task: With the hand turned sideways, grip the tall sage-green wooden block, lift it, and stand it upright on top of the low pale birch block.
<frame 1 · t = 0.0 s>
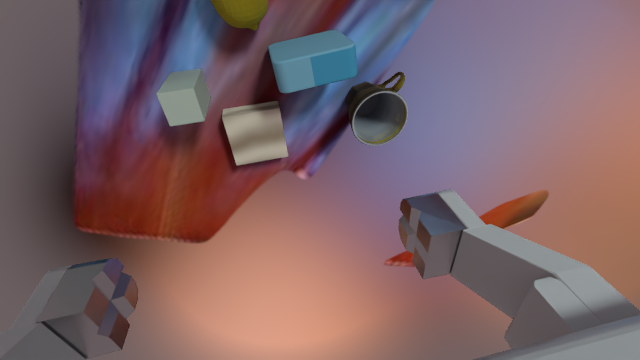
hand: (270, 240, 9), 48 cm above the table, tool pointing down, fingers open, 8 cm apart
blue rounded box: (304, 50, 52), on the table
sage block: (191, 85, 51), on the table
ceramic cup: (365, 91, 58), on the table
birch block: (256, 128, 59), on the table
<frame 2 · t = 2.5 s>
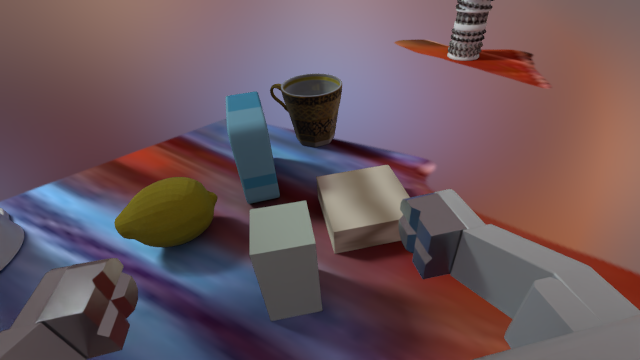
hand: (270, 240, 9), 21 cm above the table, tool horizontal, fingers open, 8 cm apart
blue rounded box: (260, 181, 46), on the table
lemon: (183, 236, 38), on the table
sage block: (294, 292, 31), on the table
ceramic cup: (308, 137, 56), on the table
birch block: (363, 217, 39), on the table
decorative candle: (462, 56, 86), on the table
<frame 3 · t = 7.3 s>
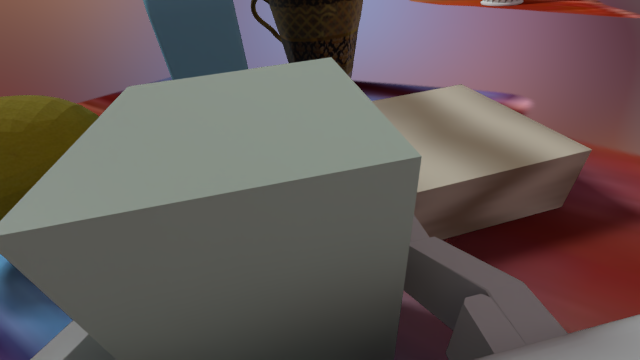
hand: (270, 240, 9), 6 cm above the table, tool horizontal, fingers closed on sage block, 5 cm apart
blue rounded box: (235, 135, 27), on the table
lemon: (70, 227, 19), on the table
sage block: (298, 357, 11), on the table, touching gripper
ceramic cup: (311, 82, 37), on the table
birch block: (429, 180, 20), on the table
decorative candle: (501, 3, 68), on the table
when the fingers open (11 cm above the table, at t = 12.1 s): sage block drops 2 cm, resting on birch block.
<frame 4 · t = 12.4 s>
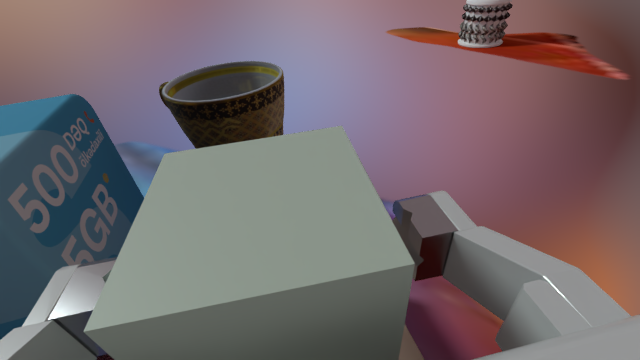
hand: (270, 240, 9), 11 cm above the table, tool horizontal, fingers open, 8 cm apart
blue rounded box: (113, 280, 22), on the table
ceramic cup: (238, 174, 32), on the table
decorative candle: (479, 43, 63), on the table
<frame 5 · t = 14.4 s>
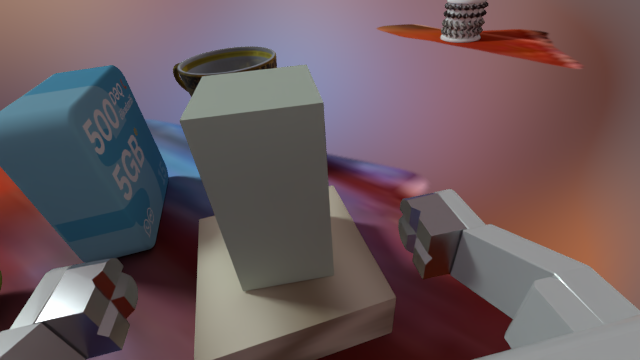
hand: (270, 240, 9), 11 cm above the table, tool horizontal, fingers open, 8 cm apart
blue rounded box: (138, 216, 28), on the table
sage block: (286, 248, 18), point 4 cm above the table, touching birch block
ceramic cup: (238, 143, 38), on the table
birch block: (290, 290, 21), on the table, touching sage block
decorative candle: (460, 38, 69), on the table
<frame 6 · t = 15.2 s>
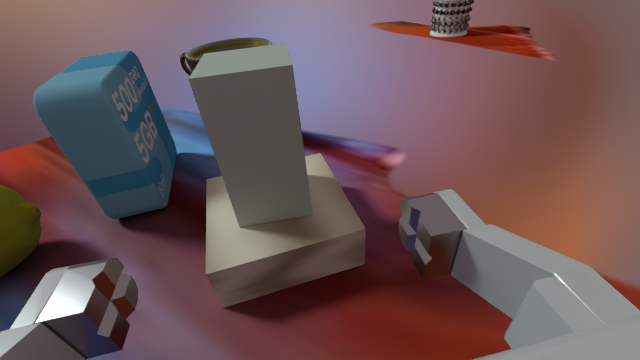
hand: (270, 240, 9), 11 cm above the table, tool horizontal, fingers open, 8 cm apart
blue rounded box: (151, 184, 32), on the table
sage block: (275, 197, 22), point 4 cm above the table
ceramic cup: (239, 125, 42), on the table
birch block: (283, 237, 25), on the table
decorative candle: (448, 34, 73), on the table
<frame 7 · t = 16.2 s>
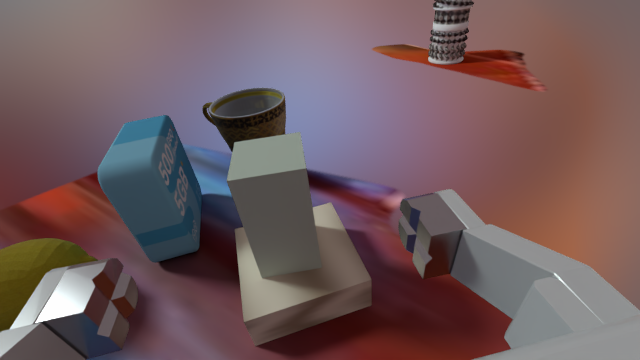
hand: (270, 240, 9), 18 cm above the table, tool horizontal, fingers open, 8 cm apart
blue rounded box: (182, 226, 36), on the table
lemon: (57, 315, 28), on the table
sage block: (290, 249, 27), point 4 cm above the table, touching birch block
ceramic cup: (254, 164, 46), on the table
birch block: (301, 279, 29), on the table, touching sage block
decorative candle: (445, 60, 77), on the table
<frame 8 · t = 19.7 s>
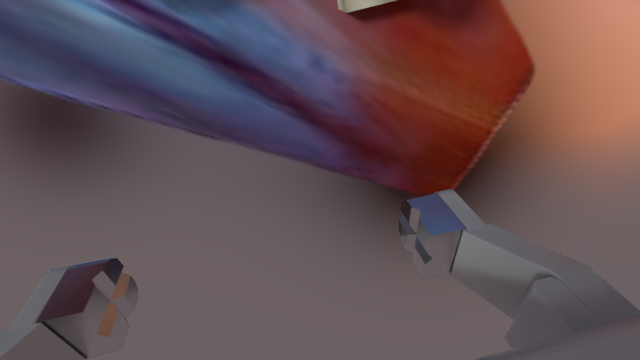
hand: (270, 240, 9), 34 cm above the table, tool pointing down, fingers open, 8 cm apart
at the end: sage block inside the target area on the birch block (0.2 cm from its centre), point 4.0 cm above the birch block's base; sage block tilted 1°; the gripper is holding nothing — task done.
